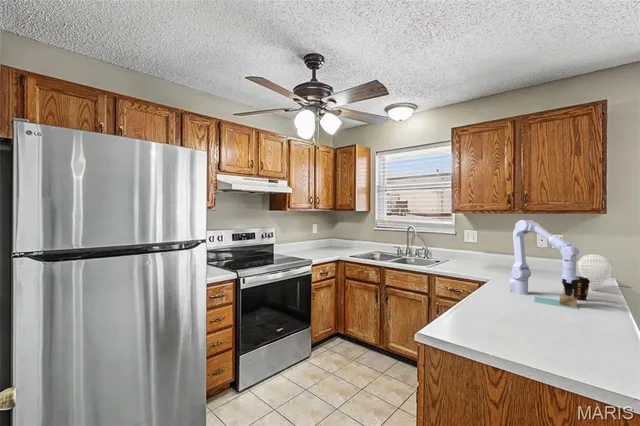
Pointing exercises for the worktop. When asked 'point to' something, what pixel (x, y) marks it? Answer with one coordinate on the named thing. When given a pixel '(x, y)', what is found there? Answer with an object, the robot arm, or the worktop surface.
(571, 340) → the worktop surface
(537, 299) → the build board
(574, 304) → the walnut block
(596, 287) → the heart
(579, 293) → the coffee cup
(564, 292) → the maple block
